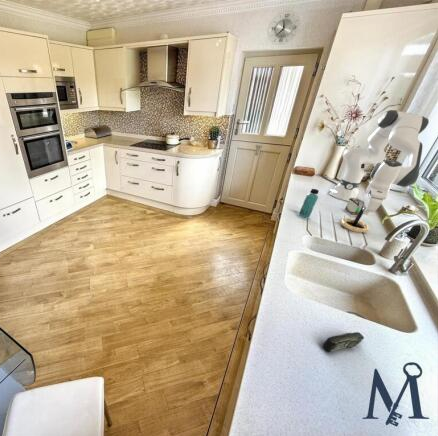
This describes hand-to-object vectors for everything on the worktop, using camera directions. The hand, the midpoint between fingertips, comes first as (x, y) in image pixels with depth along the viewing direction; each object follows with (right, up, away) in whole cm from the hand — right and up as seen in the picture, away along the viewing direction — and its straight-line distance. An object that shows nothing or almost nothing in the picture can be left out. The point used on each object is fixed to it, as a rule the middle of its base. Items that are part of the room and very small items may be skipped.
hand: (364, 212), depth 136 cm
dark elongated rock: (-62, -46, -58) cm, 97 cm away
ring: (+1, -8, +8) cm, 11 cm away
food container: (+16, -1, +26) cm, 31 cm away
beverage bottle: (-23, -3, +19) cm, 30 cm away
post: (+3, -9, +11) cm, 14 cm away
